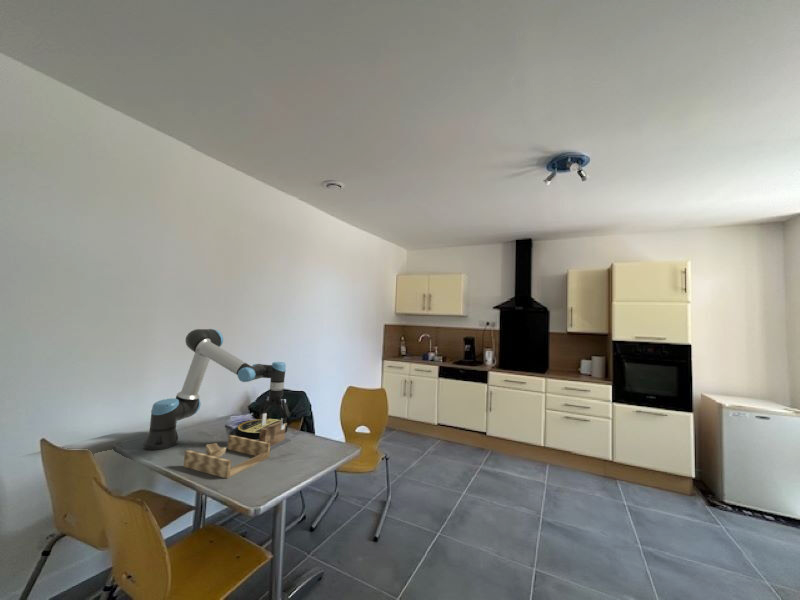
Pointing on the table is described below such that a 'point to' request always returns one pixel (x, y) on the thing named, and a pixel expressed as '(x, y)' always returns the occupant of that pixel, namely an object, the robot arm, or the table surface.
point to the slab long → (222, 450)
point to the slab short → (213, 450)
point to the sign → (254, 428)
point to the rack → (223, 465)
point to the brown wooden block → (272, 434)
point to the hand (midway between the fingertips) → (272, 427)
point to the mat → (279, 443)
